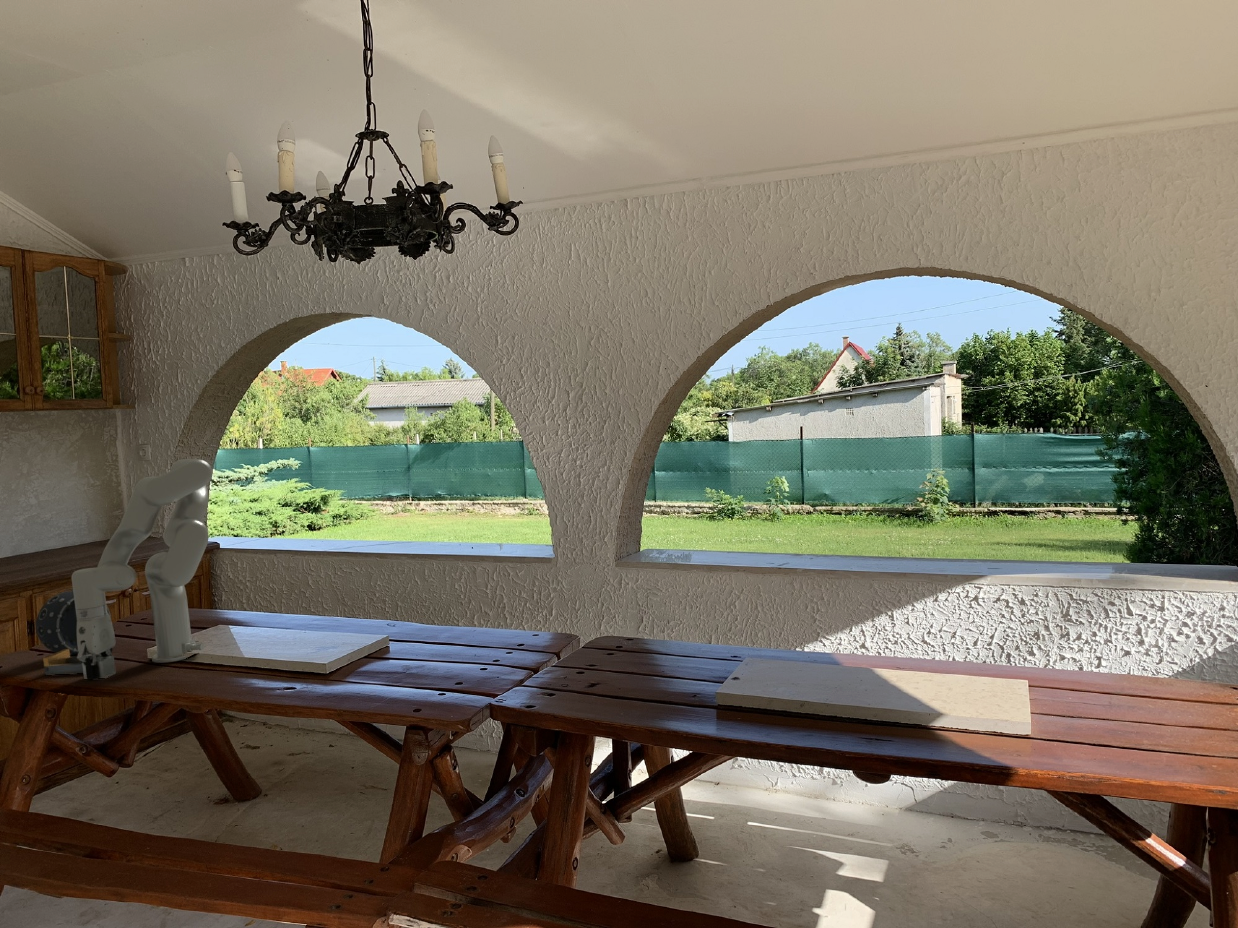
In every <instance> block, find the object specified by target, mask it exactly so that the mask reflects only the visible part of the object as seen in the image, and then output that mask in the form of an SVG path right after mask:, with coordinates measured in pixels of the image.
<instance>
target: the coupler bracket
mask: <svg viewBox="0 0 1238 928" xmlns="http://www.w3.org/2000/svg"><path fill="white" fill-rule="evenodd" d="M77 656H78V655H73V656H71V655H70V652H69V649H64V650H61V651H59V652H57V653H56V652H53V653H52V654H50V655H48V656H45V657H43V658H42V661H43V667H44V674H47V675H48V674H65V673H66V674H69V673H74V674H73V675H77V674H76V673H83V666H82V662H81V661H80V660H78V659H77ZM96 657H100V655H99V654H97V655H96ZM88 658H90V659H91V656H89V657H88Z"/></svg>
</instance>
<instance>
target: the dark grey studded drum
mask: <svg viewBox="0 0 1238 928" xmlns="http://www.w3.org/2000/svg"><path fill="white" fill-rule="evenodd" d="M107 613H109V616H110V619H111V617H112V614H111V612H110V609H109V607H108V606H107ZM111 620H112V619H111ZM35 630H36V636H37V638H38V640H39V641H40V643H41V644H42V646H44V647H45V648H46V649H47V650H49V651H51V652H53V653H57V652H59V651H61V650H64V649H69V652H70V656H78V653H79V651H78V645H77V616H76V608H75V601H74V593H73V589H72V590H67V591H62V592H61V593H57V594H56V595H53V597H51V598H49V599H48V600H47V601H45V603H44V604H43V605H42V606H41V608H40V609H39V612H38V614H37V617H36V619H35Z"/></svg>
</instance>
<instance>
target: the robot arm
mask: <svg viewBox="0 0 1238 928" xmlns="http://www.w3.org/2000/svg"><path fill="white" fill-rule="evenodd" d="M212 478H213V469H212V466H211V465H210V463H208V462H207V461H206V460H203V459H200V458H182V459H178V460H176V461H175V462H173V464H172V465H171V467H170V470H169V471H168V472H165V473H163V474H162V475H158V476H152V475H151V476H147V477H146V476H145V477H142V478H141V479H140V480H138V482H137V483H136V485H135V487H134V489H133V491H132V494H131V497H130V498H129V501H128V504H127V506H126V509H125V511H124V514H123V516H122V519H121V521H120V523H119V525H118V527H117V528H116V530H115V531H114V533H113V534H112V536H111V538H110V539H109V540H108V542H107V544H106V545H105V546H104V547H105V548H104V549H103V552H102V554H101V558H100V559H99V562H98V564H97V567H89V568H82V569H78V570H75V571H74V572H72V574H71V583H72V584H71V585H72V590H73V593H74V601H75V608H76V616H77V645H78V651H79V653H78V655H76V656H77V659H78V660H80V661H81V662H82V663H83V665H84V666H85V667H86V675H87V679H93V680H99V679H98V678H99V674H98V666H97V664H95V663H96V655H100V657H106V656H113V655H112V652H113V649H114V647H115V646H116V637H115V631H114V626H113V622H112V619H110V616H109V613H107V607H108V605H107V599H106V592H114V591H115V592H116V591H124V590H126V589H129V588H131V586H133V585H134V584H135V583H136V580H137V573H136V570H135V568H133V567H132V566H130V565H128V563H129V561H130V558H131V557H132V554H133V552H134V551H135V550H136V548H137V547H138V546H139V545H140V544H141V543H142V542H144V541H145V540H146V539H147V538H148V537H149V536H150V535H151V534H152V532H153V530H154V527H155V525H156V522H157V519H158V517H159V514H160V512H161V510H162V507H163V506H167V505H169V504H172V503H174V502H176V504H175V506H174V508H173V511H172V514H171V515H170V518H169V519H168V522H167V524H166V526H165V529H164V531H163V537H162V538H163V541H164V544H165V545H166V546H168V547H169V549H168V550H167V551H163V552H162V551H161V552H158V553H155V554H153V555H152V556H150V557H149V559H148V560H147V562H146V563H145V569H144V574H145V579H146V583H147V587H148V591H149V597H150V603H151V604H150V605H151V611H152V619H153V620H152V621H153V626H154V636H155V644H156V653H155V654H154V655H152V656H151V660H152V662H153V663H157V664H158V663H161V664H162V663H174V662H178V661H179V662H180V661H183V660H186V656H184V655H183V656H182V653H183V654H186V653H187V652H192V651H193V650H199V651H203V650H204V647H205V643H204V642H196V638H194V637H193V638H192V632H191V623H190V613H189V606H188V597H187V591H186V587H185V585H187V584H188V583H190V582H191V580H192V579H193V577H194V576H195V574H196V572H197V569H198V567H199V565H200V564H201V563H200V562H201V561H202V558H203V555H204V554H205V552H206V551H205V550H206V548H207V546H208V543H209V530H208V528H207V526H206V525H205V524H204V523H203V520H204V518H205V514H206V512H207V510H208V506H209V502H210V501H209V499H210V496H209V495H210V494H209V490H208V486H207V485H208V484H209V482H210V481H211V480H212ZM89 656H91V659H90V658H88V657H89Z"/></svg>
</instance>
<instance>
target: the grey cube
mask: <svg viewBox="0 0 1238 928" xmlns="http://www.w3.org/2000/svg"><path fill="white" fill-rule="evenodd" d="M95 664H97V666H98V674H99V678H105V679H107V678H109V677H111V676H113V675H115V674H117V670H116V663H115V655H112V656H106V657H96V663H95ZM82 666H83V674H82V675H83V680H84V679H87V675H86V667H85V666H84V665H83V663H82ZM108 676H109V677H108Z"/></svg>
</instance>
